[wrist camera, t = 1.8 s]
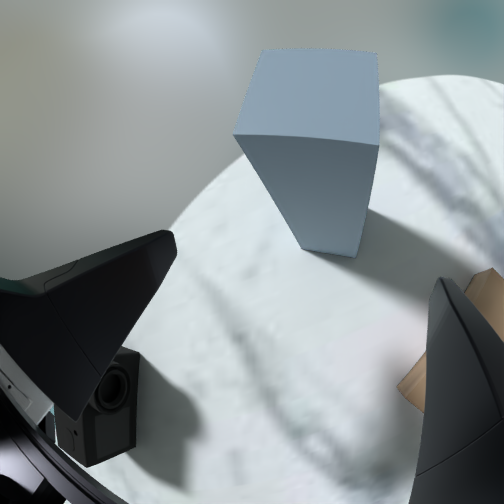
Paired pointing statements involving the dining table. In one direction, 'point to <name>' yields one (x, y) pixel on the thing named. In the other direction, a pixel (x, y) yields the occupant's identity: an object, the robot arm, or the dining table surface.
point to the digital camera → (104, 415)
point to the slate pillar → (315, 140)
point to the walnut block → (491, 307)
